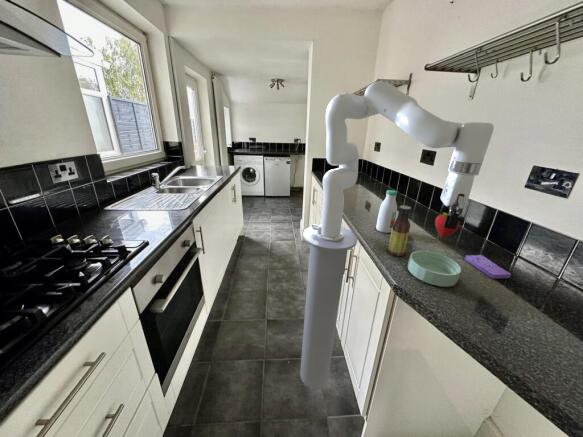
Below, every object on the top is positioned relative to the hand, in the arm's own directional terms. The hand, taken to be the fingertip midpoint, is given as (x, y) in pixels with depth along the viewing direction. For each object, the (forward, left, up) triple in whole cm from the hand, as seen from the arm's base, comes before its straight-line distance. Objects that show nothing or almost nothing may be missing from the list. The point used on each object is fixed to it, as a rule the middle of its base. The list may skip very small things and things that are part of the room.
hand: (446, 223), depth 74 cm
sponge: (+20, +13, -20) cm, 31 cm away
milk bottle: (-16, +33, -20) cm, 41 cm away
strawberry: (0, 0, -5) cm, 5 cm away
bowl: (0, 0, -19) cm, 19 cm away
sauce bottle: (-11, +10, -20) cm, 25 cm away
